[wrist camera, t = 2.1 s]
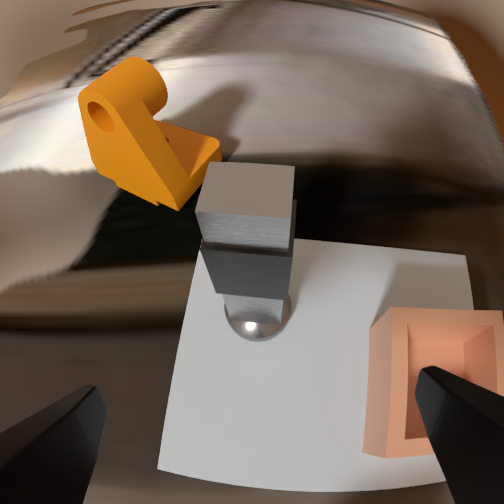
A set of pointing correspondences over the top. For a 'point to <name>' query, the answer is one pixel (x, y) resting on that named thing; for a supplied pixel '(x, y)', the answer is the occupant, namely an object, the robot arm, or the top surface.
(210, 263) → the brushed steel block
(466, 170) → the top surface
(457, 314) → the holder
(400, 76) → the top surface
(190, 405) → the bench mat
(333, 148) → the top surface
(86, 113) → the bracket
